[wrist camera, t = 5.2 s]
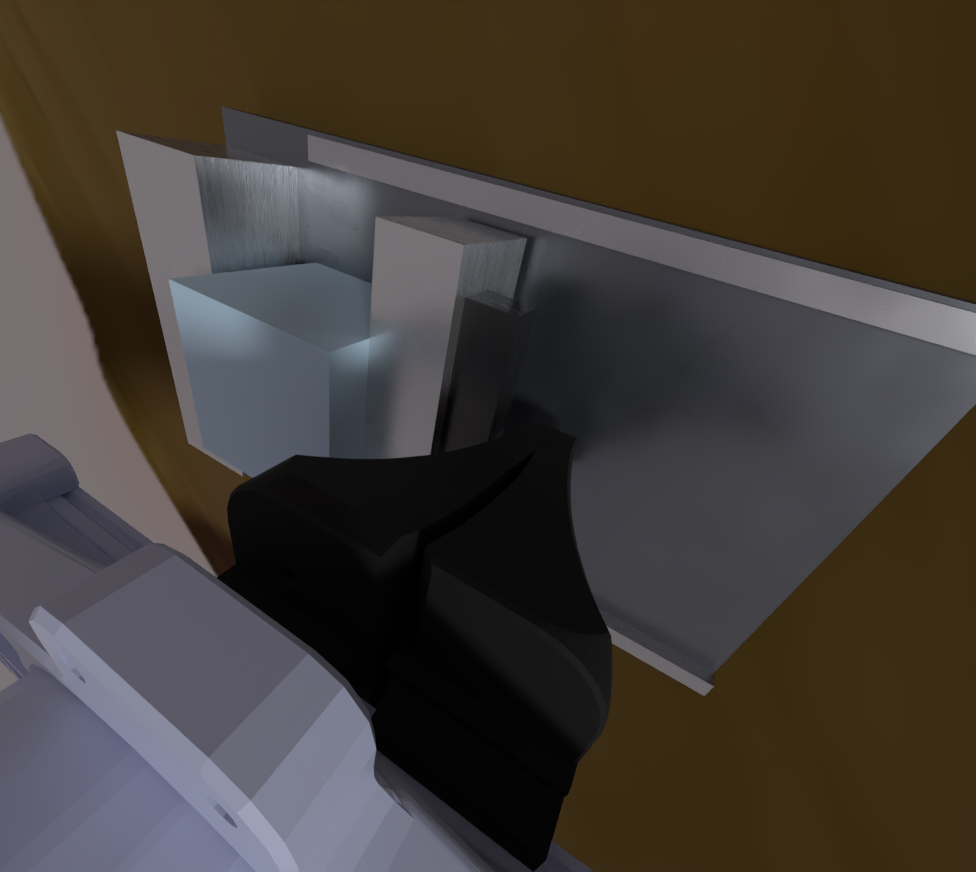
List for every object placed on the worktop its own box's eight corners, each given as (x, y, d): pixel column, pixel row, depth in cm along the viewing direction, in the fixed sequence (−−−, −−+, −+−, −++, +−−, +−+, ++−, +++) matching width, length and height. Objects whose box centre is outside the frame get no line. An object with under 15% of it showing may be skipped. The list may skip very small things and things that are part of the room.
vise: (704, 657, 14) (698, 783, 11) (277, 424, 20) (193, 462, 17) (1020, 313, 8) (1222, 380, 5) (251, 113, 13) (104, 80, 10)
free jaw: (486, 547, 15) (441, 609, 13) (413, 506, 16) (357, 557, 13) (574, 252, 10) (524, 264, 7) (455, 216, 10) (375, 216, 8)
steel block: (425, 450, 15) (329, 524, 11) (318, 396, 16) (203, 447, 13) (446, 312, 12) (328, 352, 8) (316, 262, 13) (168, 278, 10)
